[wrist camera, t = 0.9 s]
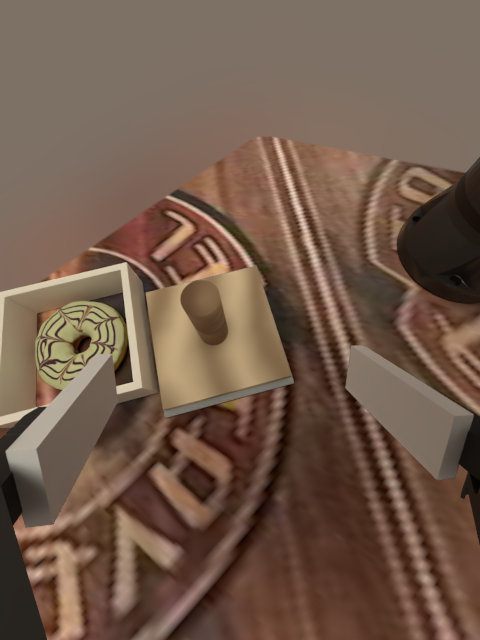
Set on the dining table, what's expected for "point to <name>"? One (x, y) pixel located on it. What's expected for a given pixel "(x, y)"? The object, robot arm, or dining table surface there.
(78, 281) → the wooden box
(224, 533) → the dining table surface
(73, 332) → the decorated donut
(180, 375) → the oak cover
